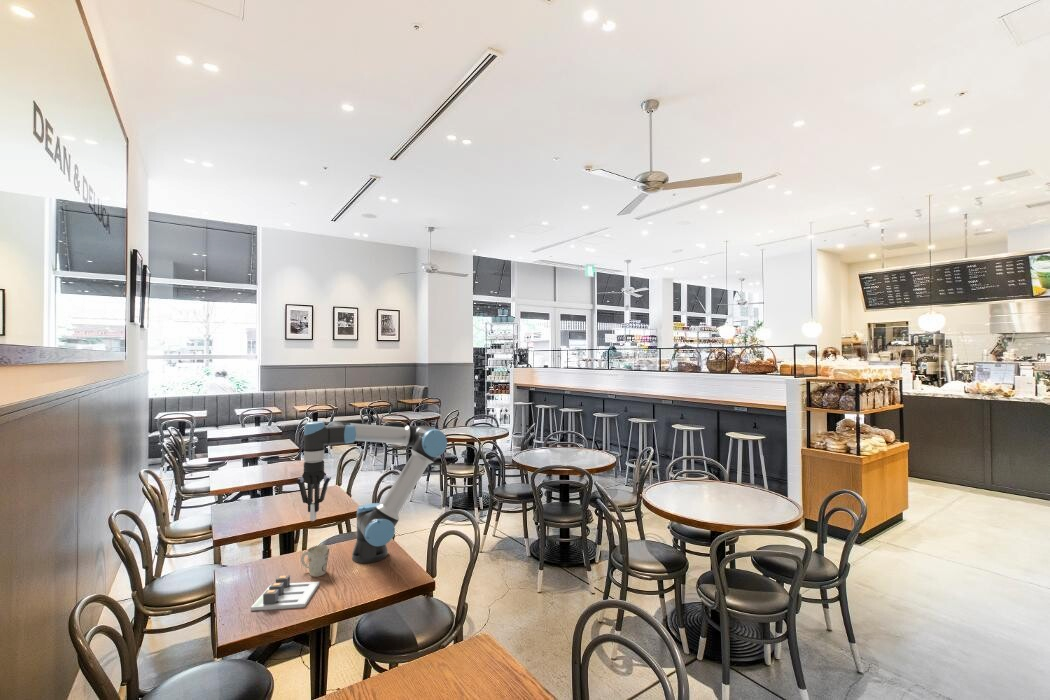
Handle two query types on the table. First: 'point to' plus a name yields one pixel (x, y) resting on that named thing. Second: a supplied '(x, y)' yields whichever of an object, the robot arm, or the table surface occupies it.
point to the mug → (316, 559)
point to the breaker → (270, 596)
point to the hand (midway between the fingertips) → (313, 519)
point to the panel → (288, 594)
